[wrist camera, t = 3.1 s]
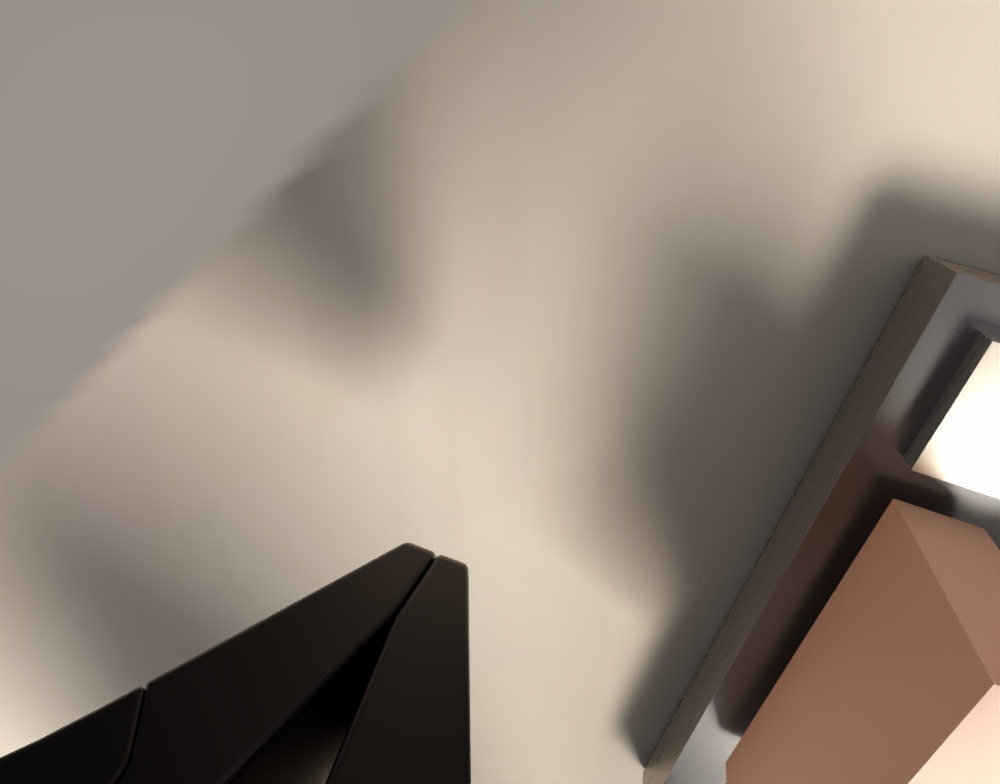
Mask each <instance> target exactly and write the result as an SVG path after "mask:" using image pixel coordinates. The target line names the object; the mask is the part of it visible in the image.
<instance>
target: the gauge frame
mask: <svg viewBox="0 0 1000 784" xmlns="http://www.w3.org/2000/svg"><path fill="white" fill-rule="evenodd" d="M893 498H894V499H897V500H900V501H903V502H906V503H909V504H912V505H915V506H918V507H921V508H924V509H927V510H930V511H933V512H936V513H939V514H942V515H945V516H948V517H951V518H954V519H957V520H960V521H963V522H966V523H969V524H972V525H975V526H978V527H981V528H984V529H985V531H986V532H987V533H988V535H989V536H990V537H991V539H992V540H993V542H994V543H995V544H996V546H997V547H998V549H999V550H1000V276H999V275H996V274H992V273H988V272H985V271H981V270H978V269H974V268H971V267H967V266H963V265H960V264H956V263H953V262H949V261H945V260H942V259H938V258H935V257H931V256H928V255H925V256H924V257H923V259H922V261H921V263H920V265H919V267H918V268H917V270H916V272H915V274H914V276H913V278H912V279H911V281H910V283H909V285H908V287H907V289H906V290H905V292H904V294H903V296H902V298H901V300H900V301H899V303H898V305H897V307H896V309H895V311H894V312H893V314H892V316H891V318H890V320H889V322H888V323H887V325H886V327H885V329H884V331H883V333H882V334H881V336H880V338H879V340H878V342H877V344H876V345H875V347H874V349H873V351H872V353H871V355H870V357H869V358H868V360H867V362H866V364H865V366H864V368H863V369H862V371H861V373H860V375H859V377H858V379H857V380H856V382H855V384H854V386H853V388H852V390H851V391H850V393H849V395H848V397H847V399H846V401H845V402H844V404H843V406H842V408H841V410H840V412H839V413H838V415H837V417H836V419H835V421H834V423H833V424H832V426H831V428H830V430H829V432H828V434H827V435H826V437H825V439H824V441H823V443H822V445H821V446H820V448H819V450H818V452H817V454H816V456H815V457H814V459H813V461H812V463H811V465H810V467H809V468H808V470H807V472H806V474H805V476H804V478H803V479H802V481H801V483H800V485H799V487H798V489H797V490H796V492H795V494H794V496H793V498H792V500H791V501H790V503H789V505H788V507H787V509H786V511H785V512H784V514H783V516H782V518H781V520H780V522H779V524H778V525H777V527H776V529H775V531H774V533H773V535H772V536H771V538H770V540H769V542H768V544H767V546H766V547H765V549H764V551H763V553H762V555H761V557H760V558H759V560H758V562H757V564H756V566H755V568H754V569H753V571H752V573H751V575H750V577H749V579H748V580H747V582H746V584H745V586H744V588H743V590H742V591H741V593H740V595H739V597H738V599H737V601H736V602H735V604H734V606H733V608H732V610H731V612H730V613H729V615H728V617H727V619H726V621H725V623H724V624H723V626H722V628H721V630H720V632H719V634H718V635H717V637H716V639H715V641H714V643H713V645H712V646H711V648H710V650H709V652H708V654H707V656H706V657H705V659H704V661H703V663H702V665H701V667H700V668H699V670H698V672H697V674H696V676H695V678H694V679H693V681H692V683H691V685H690V687H689V689H688V691H687V692H686V694H685V696H684V698H683V700H682V702H681V703H680V705H679V707H678V709H677V711H676V713H675V714H674V716H673V718H672V720H671V722H670V724H669V725H668V727H667V729H666V731H665V733H664V735H663V736H662V738H661V740H660V742H659V744H658V746H657V747H656V749H655V751H654V753H653V755H652V757H651V758H650V760H649V762H648V764H647V766H646V768H645V769H644V771H643V784H727V782H726V765H725V763H726V761H727V760H728V758H729V757H730V755H731V754H732V752H733V750H734V749H735V747H736V746H737V744H738V743H739V741H740V739H741V738H742V736H743V735H744V733H745V731H746V730H747V728H748V727H749V725H750V724H751V722H752V720H753V719H754V717H755V716H756V714H757V713H758V711H759V709H760V708H761V706H762V705H763V703H764V701H765V700H766V698H767V697H768V695H769V694H770V692H771V690H772V689H773V687H774V686H775V684H776V683H777V681H778V679H779V678H780V676H781V675H782V673H783V672H784V670H785V668H786V667H787V665H788V664H789V662H790V660H791V659H792V657H793V656H794V654H795V653H796V651H797V649H798V648H799V646H800V645H801V643H802V642H803V640H804V638H805V637H806V635H807V634H808V632H809V630H810V629H811V627H812V626H813V624H814V623H815V621H816V619H817V618H818V616H819V615H820V613H821V612H822V610H823V608H824V607H825V605H826V604H827V602H828V600H829V599H830V597H831V596H832V594H833V593H834V591H835V589H836V588H837V586H838V585H839V583H840V582H841V580H842V578H843V577H844V575H845V574H846V572H847V571H848V569H849V567H850V566H851V564H852V563H853V561H854V559H855V558H856V556H857V555H858V553H859V552H860V550H861V548H862V547H863V545H864V544H865V542H866V541H867V539H868V537H869V536H870V534H871V533H872V531H873V529H874V528H875V526H876V525H877V523H878V522H879V520H880V518H881V517H882V515H883V514H884V512H885V511H886V509H887V507H888V506H889V504H890V503H891V501H892V500H893Z"/></svg>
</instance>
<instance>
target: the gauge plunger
mask: <svg viewBox="0 0 1000 784" xmlns="http://www.w3.org/2000/svg"><path fill="white" fill-rule="evenodd" d="M725 765H726V782H727V784H1000V550H999V549H998V547H997V546H996V544H995V543H994V542H993V540H992V539H991V537H990V536H989V535H988V533H987V532H986V531H985V529H984V528H981V527H978V526H975V525H972V524H969V523H966V522H963V521H960V520H957V519H954V518H951V517H948V516H945V515H942V514H939V513H936V512H933V511H930V510H927V509H924V508H921V507H918V506H915V505H912V504H909V503H906V502H903V501H900V500H897V499H894V498H893V500H892V501H891V503H890V504H889V506H888V507H887V509H886V511H885V512H884V514H883V515H882V517H881V518H880V520H879V522H878V523H877V525H876V526H875V528H874V529H873V531H872V533H871V534H870V536H869V537H868V539H867V541H866V542H865V544H864V545H863V547H862V548H861V550H860V552H859V553H858V555H857V556H856V558H855V559H854V561H853V563H852V564H851V566H850V567H849V569H848V571H847V572H846V574H845V575H844V577H843V578H842V580H841V582H840V583H839V585H838V586H837V588H836V589H835V591H834V593H833V594H832V596H831V597H830V599H829V600H828V602H827V604H826V605H825V607H824V608H823V610H822V612H821V613H820V615H819V616H818V618H817V619H816V621H815V623H814V624H813V626H812V627H811V629H810V630H809V632H808V634H807V635H806V637H805V638H804V640H803V642H802V643H801V645H800V646H799V648H798V649H797V651H796V653H795V654H794V656H793V657H792V659H791V660H790V662H789V664H788V665H787V667H786V668H785V670H784V672H783V673H782V675H781V676H780V678H779V679H778V681H777V683H776V684H775V686H774V687H773V689H772V690H771V692H770V694H769V695H768V697H767V698H766V700H765V701H764V703H763V705H762V706H761V708H760V709H759V711H758V713H757V714H756V716H755V717H754V719H753V720H752V722H751V724H750V725H749V727H748V728H747V730H746V731H745V733H744V735H743V736H742V738H741V739H740V741H739V743H738V744H737V746H736V747H735V749H734V750H733V752H732V754H731V755H730V757H729V758H728V760H727V761H726V763H725Z"/></svg>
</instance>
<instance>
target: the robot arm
mask: <svg viewBox="0 0 1000 784" xmlns="http://www.w3.org/2000/svg"><path fill="white" fill-rule="evenodd" d="M0 784H471V755H470V669H469V583H468V567H467V566H466V564H464V563H462V562H459V561H456V560H454V559H451V558H448V557H446V556H443V555H440V556H437V557H436V556H435V554H434V552H432V551H430V550H428V549H425V548H422V547H420V546H417V545H414V544H412V543H404V544H402V545H400V546H398V547H396V548H394V549H392V550H391V551H389V552H387V553H385V554H383V555H381V556H380V557H378V558H376V559H374V560H372V561H370V562H369V563H367V564H365V565H363V566H361V567H359V568H357V569H356V570H354V571H352V572H350V573H348V574H346V575H345V576H343V577H341V578H339V579H337V580H335V581H334V582H332V583H330V584H328V585H326V586H324V587H323V588H321V589H319V590H317V591H315V592H313V593H312V594H310V595H308V596H306V597H304V598H302V599H301V600H299V601H297V602H295V603H293V604H291V605H290V606H288V607H286V608H284V609H282V610H280V611H279V612H277V613H275V614H273V615H271V616H269V617H267V618H266V619H264V620H262V621H260V622H258V623H256V624H255V625H253V626H251V627H249V628H247V629H245V630H244V631H242V632H240V633H238V634H236V635H234V636H233V637H231V638H229V639H227V640H225V641H223V642H222V643H220V644H218V645H216V646H214V647H212V648H211V649H209V650H207V651H205V652H203V653H201V654H200V655H198V656H196V657H194V658H192V659H190V660H188V661H187V662H185V663H183V664H181V665H179V666H177V667H176V668H174V669H172V670H170V671H168V672H166V673H165V674H163V675H161V676H159V677H157V678H155V679H154V680H152V681H150V682H149V683H148V684H147V686H146V690H145V689H144V688H143V687H138V688H136V689H135V690H133V691H131V692H129V693H127V694H125V695H124V696H122V697H120V698H118V699H116V700H114V701H113V702H111V703H109V704H107V705H105V706H103V707H101V708H100V709H98V710H96V711H94V712H92V713H90V714H88V715H86V716H84V717H82V718H80V719H78V720H76V721H74V722H72V723H71V724H69V725H67V726H65V727H63V728H61V729H59V730H57V731H55V732H53V733H51V734H49V735H47V736H45V737H43V738H41V739H40V740H38V741H35V742H33V743H31V744H29V745H27V746H25V747H23V748H20V749H18V750H16V751H14V752H12V753H10V754H8V755H5V756H3V757H1V758H0Z"/></svg>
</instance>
